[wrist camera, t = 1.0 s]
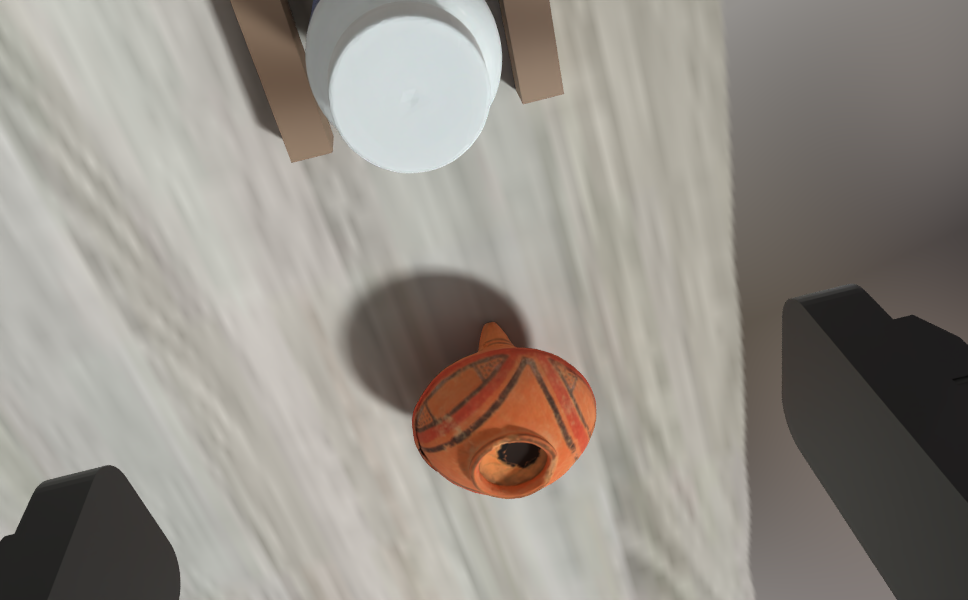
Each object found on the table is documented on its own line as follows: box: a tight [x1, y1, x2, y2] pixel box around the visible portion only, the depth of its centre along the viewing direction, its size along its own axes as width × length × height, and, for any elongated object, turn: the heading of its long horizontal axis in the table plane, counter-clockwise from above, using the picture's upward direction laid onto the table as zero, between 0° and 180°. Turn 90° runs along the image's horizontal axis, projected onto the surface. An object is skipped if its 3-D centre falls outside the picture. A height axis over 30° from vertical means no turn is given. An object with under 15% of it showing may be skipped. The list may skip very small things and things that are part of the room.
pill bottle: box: [305, 0, 502, 173], centre depth 23 cm, size 5×5×10 cm
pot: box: [412, 322, 596, 499], centre depth 35 cm, size 8×8×7 cm
